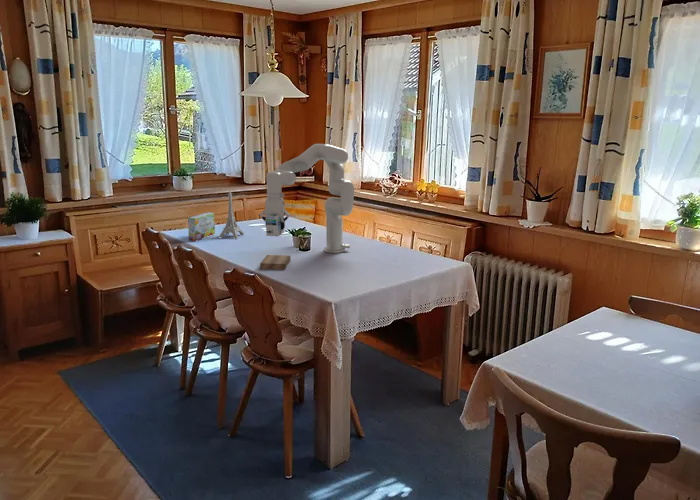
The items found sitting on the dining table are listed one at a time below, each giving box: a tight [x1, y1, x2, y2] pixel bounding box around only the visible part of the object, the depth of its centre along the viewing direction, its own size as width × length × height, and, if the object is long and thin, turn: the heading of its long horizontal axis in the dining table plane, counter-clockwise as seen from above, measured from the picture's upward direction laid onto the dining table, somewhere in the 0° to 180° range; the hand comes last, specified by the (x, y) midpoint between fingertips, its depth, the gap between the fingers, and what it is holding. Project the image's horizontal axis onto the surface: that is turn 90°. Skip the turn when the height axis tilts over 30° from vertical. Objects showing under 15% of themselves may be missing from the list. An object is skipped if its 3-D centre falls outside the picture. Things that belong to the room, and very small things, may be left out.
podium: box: [259, 254, 291, 270], centre depth 298 cm, size 13×17×3 cm
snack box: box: [187, 211, 216, 242], centre depth 356 cm, size 21×6×15 cm, turn 159°
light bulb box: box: [265, 215, 285, 237], centre depth 293 cm, size 11×7×11 cm, turn 169°
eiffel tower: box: [218, 190, 245, 240], centre depth 359 cm, size 13×13×30 cm
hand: (275, 228), depth 294 cm, fingers closed on light bulb box, 7 cm apart
